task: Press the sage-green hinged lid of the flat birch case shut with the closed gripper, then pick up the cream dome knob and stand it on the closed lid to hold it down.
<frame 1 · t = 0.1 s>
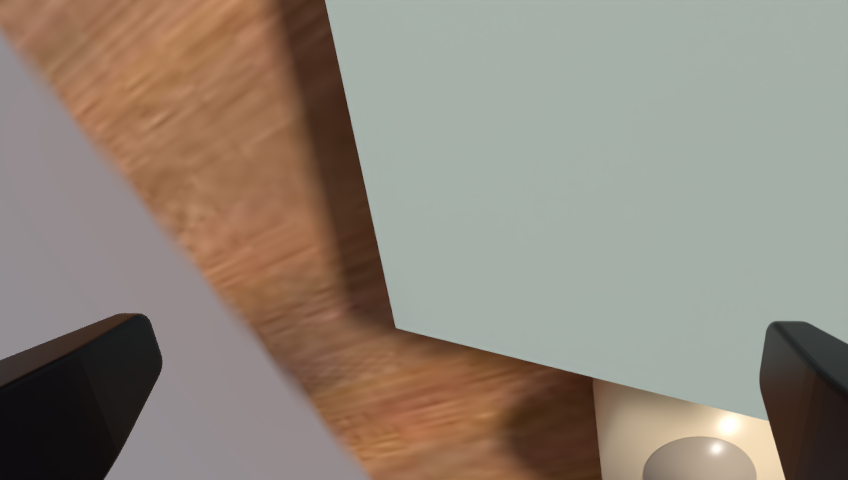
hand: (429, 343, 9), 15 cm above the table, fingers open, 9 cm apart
lid: (601, 131, 15), point 7 cm above the table, hinge at 25.0°
cream dome knob: (672, 384, 26), on the table
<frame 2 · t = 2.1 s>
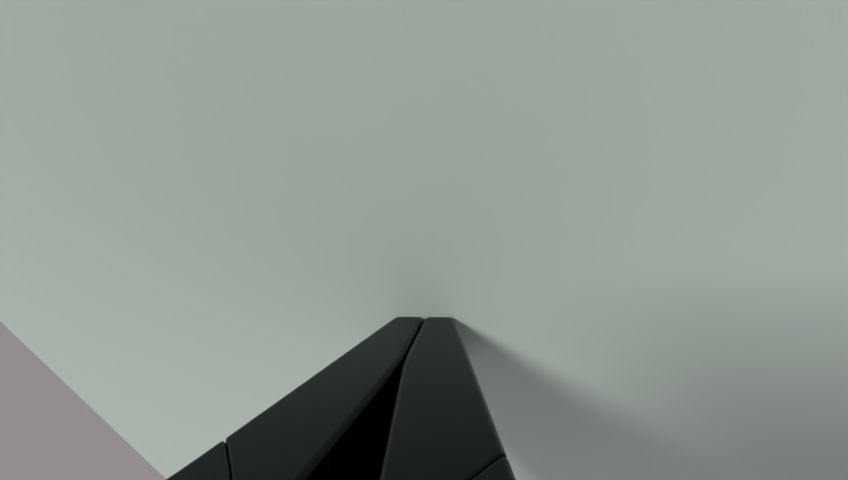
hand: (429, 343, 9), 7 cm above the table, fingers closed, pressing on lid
lid: (447, 391, 11), point 6 cm above the table, hinge at 21.2°, touching gripper
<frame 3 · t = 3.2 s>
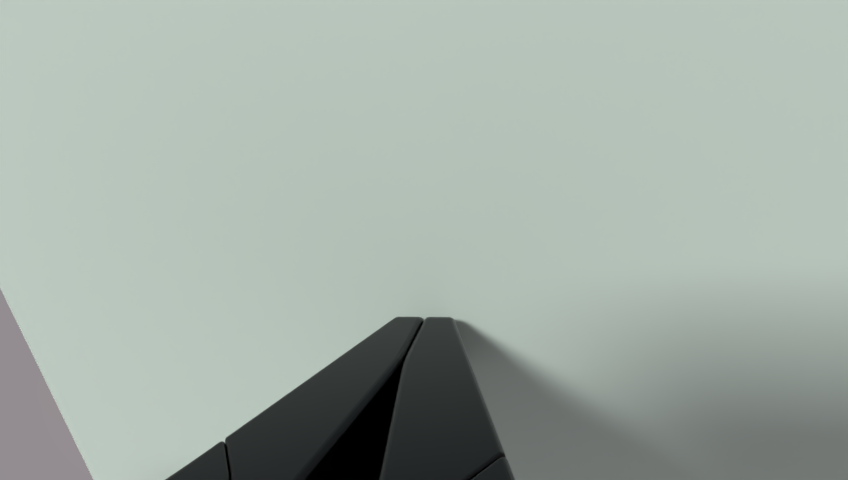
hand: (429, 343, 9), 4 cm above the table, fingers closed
lid: (448, 379, 10), point 4 cm above the table, hinge at 2.7°
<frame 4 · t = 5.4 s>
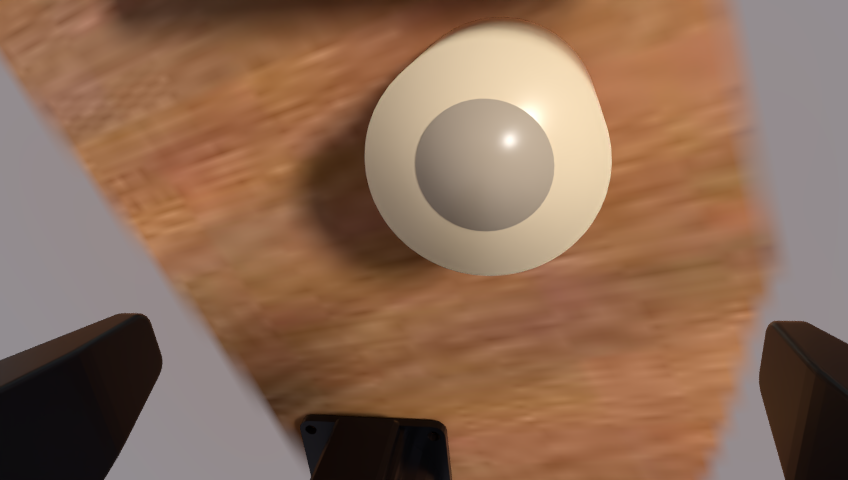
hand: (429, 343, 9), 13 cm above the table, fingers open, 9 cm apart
cream dome knob: (497, 118, 21), on the table
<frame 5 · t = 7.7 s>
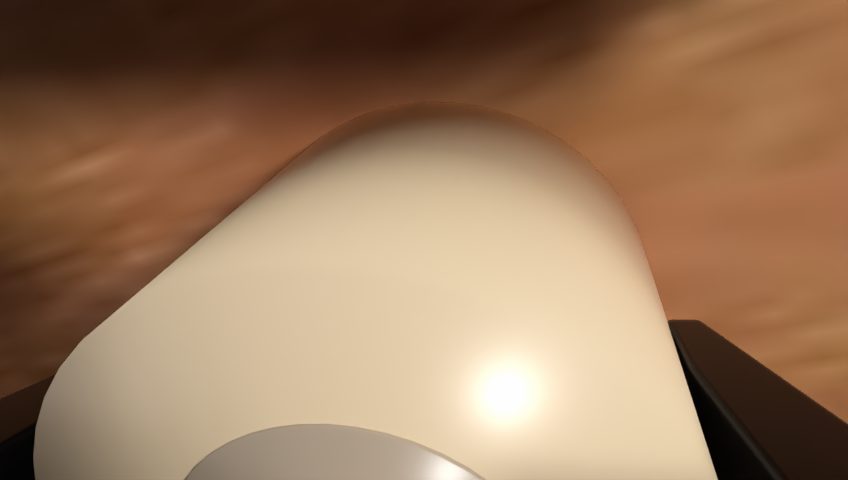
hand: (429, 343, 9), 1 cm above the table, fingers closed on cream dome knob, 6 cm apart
cream dome knob: (442, 298, 10), on the table, touching gripper
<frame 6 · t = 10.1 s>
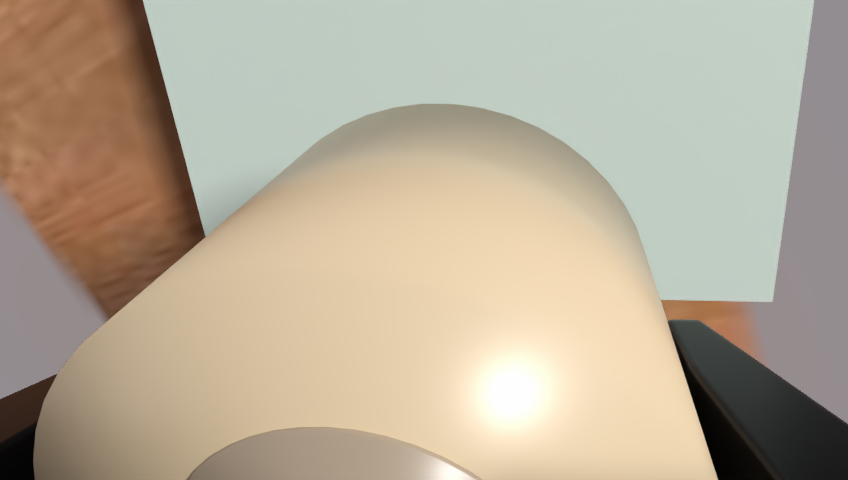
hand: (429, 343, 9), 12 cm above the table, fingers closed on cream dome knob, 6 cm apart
lid: (446, 26, 15), point 4 cm above the table, hinge at 2.7°
cream dome knob: (442, 299, 10), point 11 cm above the table, touching gripper
when the fingers open (6 cm above the table, at t = 12.6 s): cream dome knob stays where it is, resting on lid.
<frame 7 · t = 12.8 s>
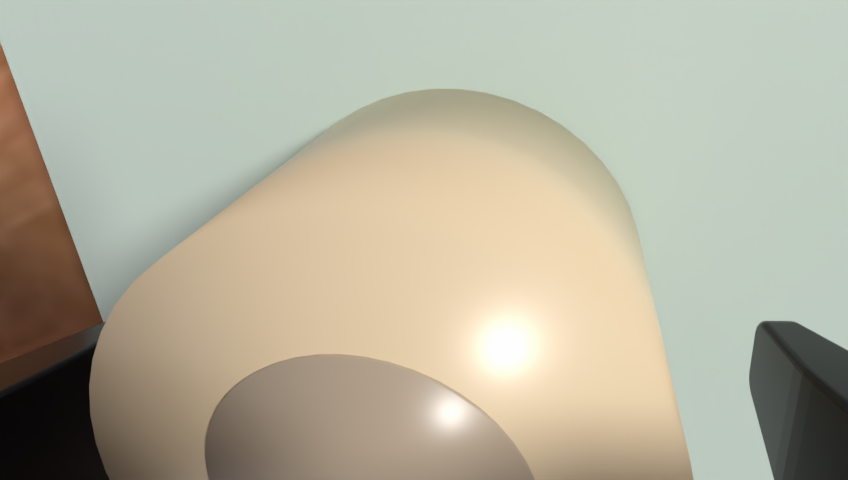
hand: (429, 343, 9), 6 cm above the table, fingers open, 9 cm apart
lid: (462, 260, 11), point 4 cm above the table, hinge at 2.0°, touching cream dome knob
cream dome knob: (449, 271, 11), point 4 cm above the table, touching lid
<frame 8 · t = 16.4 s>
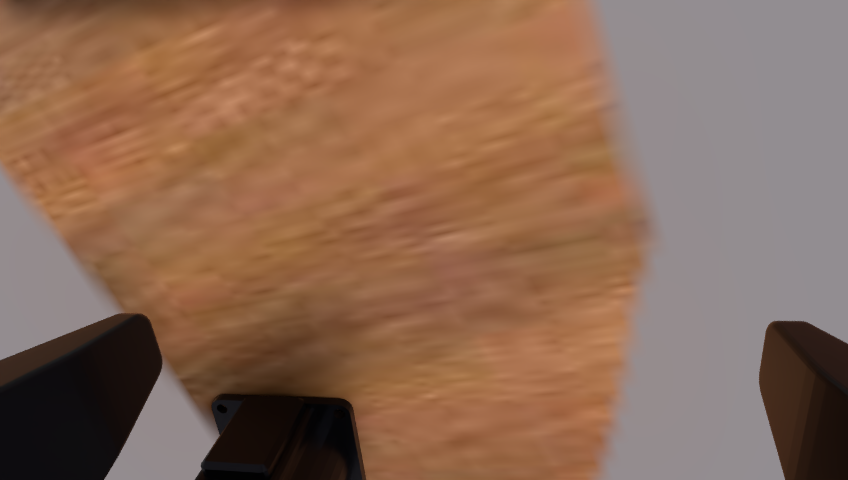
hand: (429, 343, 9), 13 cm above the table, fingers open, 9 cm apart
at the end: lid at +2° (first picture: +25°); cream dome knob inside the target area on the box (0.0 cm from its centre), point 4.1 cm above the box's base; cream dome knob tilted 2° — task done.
